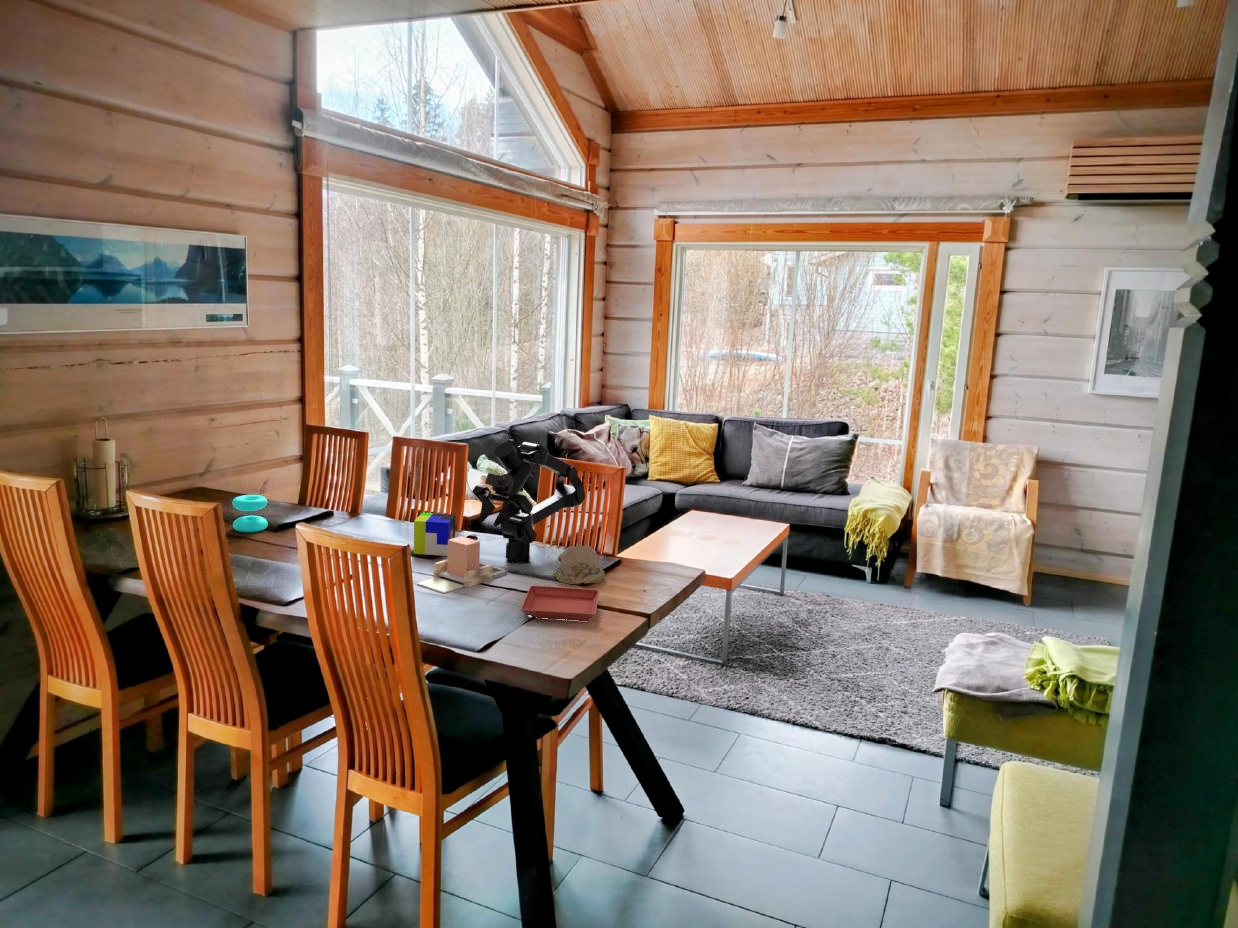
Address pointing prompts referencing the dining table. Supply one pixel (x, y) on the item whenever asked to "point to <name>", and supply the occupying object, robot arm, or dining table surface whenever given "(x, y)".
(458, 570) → the block sled
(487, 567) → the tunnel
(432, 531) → the puzzle toy
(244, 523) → the donuts
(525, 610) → the plant saucer
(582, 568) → the ceramic model
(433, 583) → the pad
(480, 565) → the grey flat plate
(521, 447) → the robot arm
